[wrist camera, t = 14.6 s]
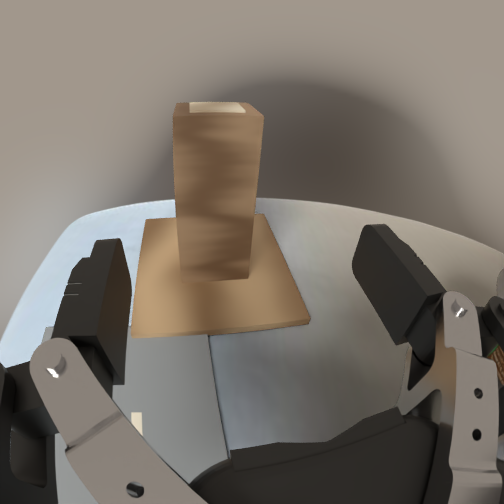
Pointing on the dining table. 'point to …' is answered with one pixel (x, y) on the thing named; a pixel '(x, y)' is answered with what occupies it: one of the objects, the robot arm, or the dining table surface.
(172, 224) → the cork pad
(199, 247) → the walnut block
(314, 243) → the dining table surface
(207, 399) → the tile
